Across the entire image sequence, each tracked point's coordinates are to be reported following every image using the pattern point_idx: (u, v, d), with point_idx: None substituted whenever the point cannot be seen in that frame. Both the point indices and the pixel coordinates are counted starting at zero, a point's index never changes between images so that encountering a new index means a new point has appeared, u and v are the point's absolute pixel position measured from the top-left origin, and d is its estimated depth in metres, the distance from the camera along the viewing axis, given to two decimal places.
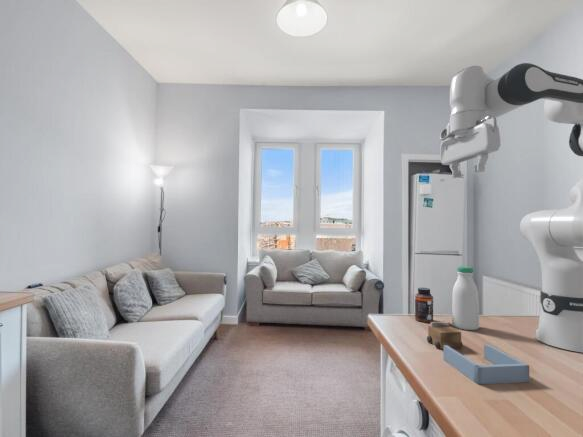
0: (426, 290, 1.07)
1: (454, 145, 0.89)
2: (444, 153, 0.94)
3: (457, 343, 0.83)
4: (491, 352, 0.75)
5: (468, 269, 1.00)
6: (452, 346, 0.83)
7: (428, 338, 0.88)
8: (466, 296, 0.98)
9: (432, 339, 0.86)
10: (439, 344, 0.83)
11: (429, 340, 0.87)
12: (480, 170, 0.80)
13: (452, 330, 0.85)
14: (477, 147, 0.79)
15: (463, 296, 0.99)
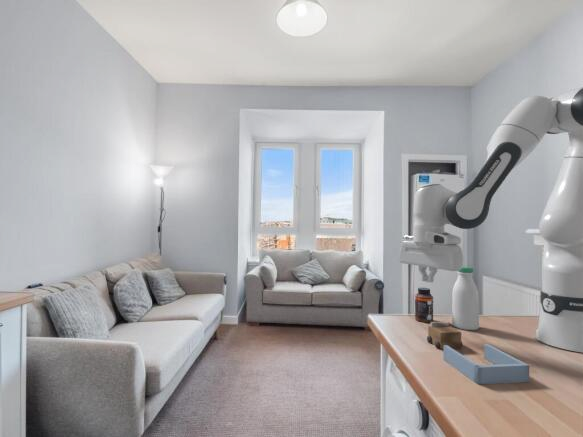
0: (426, 290, 1.07)
1: None
2: None
3: (457, 343, 0.83)
4: (491, 352, 0.75)
5: (468, 269, 1.00)
6: (452, 346, 0.83)
7: (428, 338, 0.88)
8: (466, 296, 0.98)
9: (432, 339, 0.86)
10: (439, 344, 0.83)
11: (429, 340, 0.87)
12: None
13: (452, 330, 0.85)
14: None
15: (463, 296, 0.99)
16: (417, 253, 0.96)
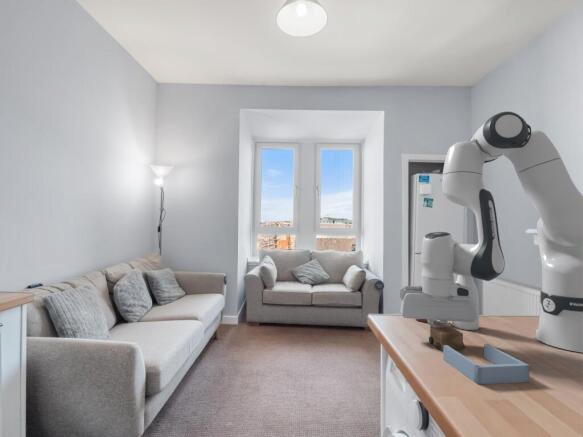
0: None
1: None
2: None
3: (459, 344, 0.82)
4: (491, 352, 0.75)
5: None
6: (453, 347, 0.82)
7: (430, 339, 0.87)
8: None
9: (433, 340, 0.86)
10: (440, 345, 0.82)
11: (431, 341, 0.87)
12: None
13: (454, 331, 0.84)
14: None
15: None
16: (428, 306, 0.88)
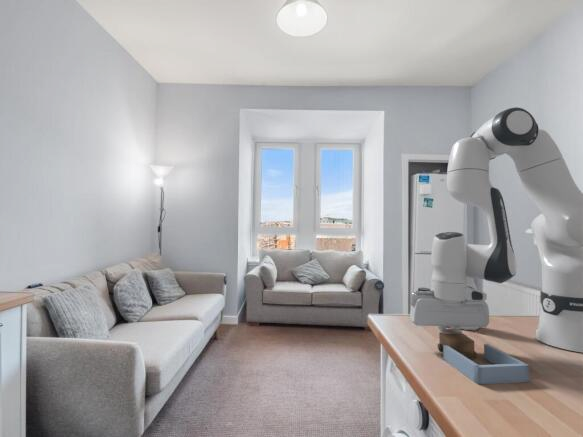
0: (426, 290, 1.07)
1: None
2: None
3: (470, 353, 0.77)
4: (491, 352, 0.75)
5: None
6: None
7: (439, 346, 0.82)
8: None
9: None
10: None
11: (440, 348, 0.82)
12: None
13: (465, 338, 0.78)
14: None
15: None
16: (441, 311, 0.82)
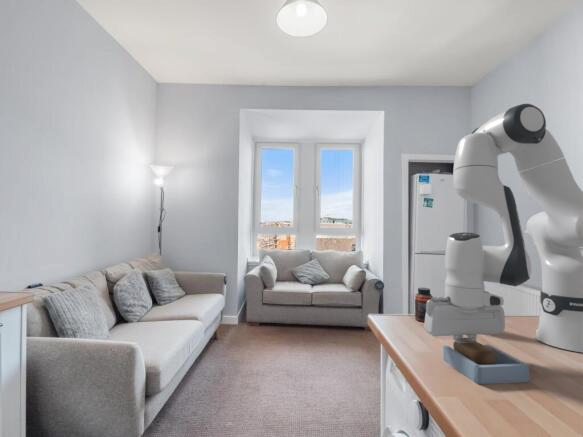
0: (426, 290, 1.07)
1: None
2: None
3: (490, 364, 0.71)
4: None
5: None
6: None
7: None
8: None
9: None
10: None
11: None
12: None
13: (483, 348, 0.72)
14: None
15: None
16: (459, 319, 0.75)
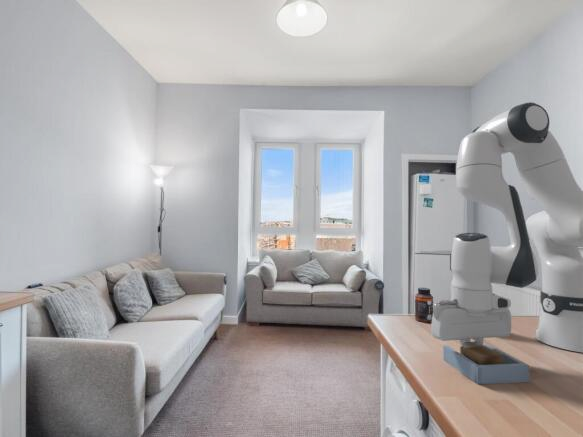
0: (426, 290, 1.07)
1: None
2: None
3: None
4: None
5: None
6: None
7: None
8: None
9: None
10: None
11: None
12: None
13: (492, 353, 0.70)
14: None
15: None
16: (466, 323, 0.73)
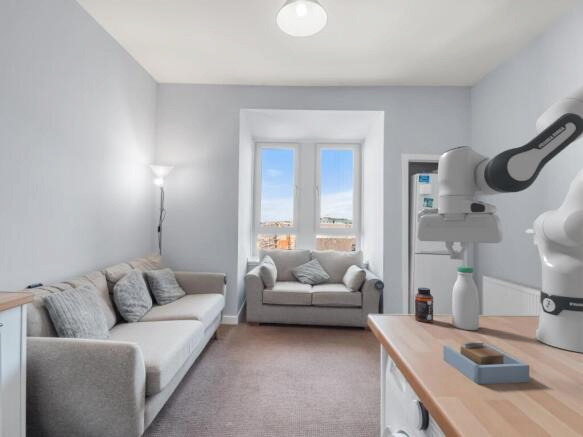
0: (426, 290, 1.07)
1: None
2: None
3: None
4: None
5: (468, 269, 1.00)
6: None
7: None
8: (466, 296, 0.98)
9: None
10: None
11: None
12: None
13: (492, 353, 0.70)
14: None
15: (463, 296, 0.99)
16: (443, 227, 0.83)
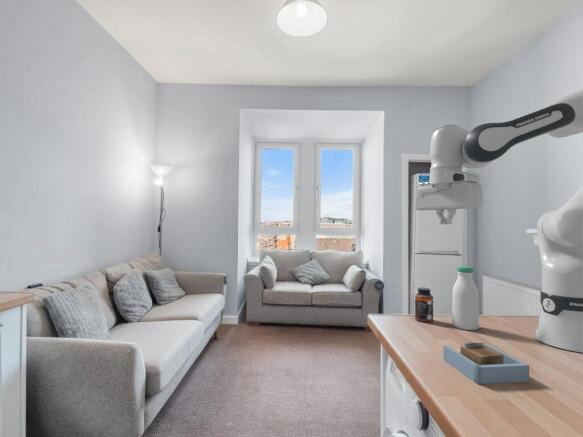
0: (426, 290, 1.07)
1: None
2: None
3: None
4: None
5: (468, 269, 1.00)
6: None
7: None
8: (466, 296, 0.98)
9: None
10: None
11: None
12: None
13: (492, 353, 0.70)
14: None
15: (463, 296, 0.99)
16: (434, 196, 0.95)
